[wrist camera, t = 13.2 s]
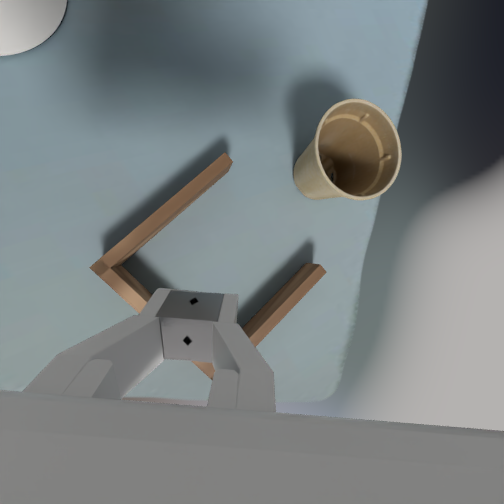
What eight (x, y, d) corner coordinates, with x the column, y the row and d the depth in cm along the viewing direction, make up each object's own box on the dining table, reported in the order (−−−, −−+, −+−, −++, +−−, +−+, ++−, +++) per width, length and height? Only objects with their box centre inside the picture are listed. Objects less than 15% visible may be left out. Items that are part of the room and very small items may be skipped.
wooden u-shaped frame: (103, 264, 25) (89, 267, 22) (221, 163, 28) (224, 152, 25) (215, 369, 29) (218, 385, 25) (312, 269, 31) (326, 272, 28)
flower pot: (333, 129, 31) (384, 87, 23) (356, 197, 33) (413, 181, 24) (270, 150, 30) (300, 112, 21) (296, 222, 31) (335, 214, 22)
